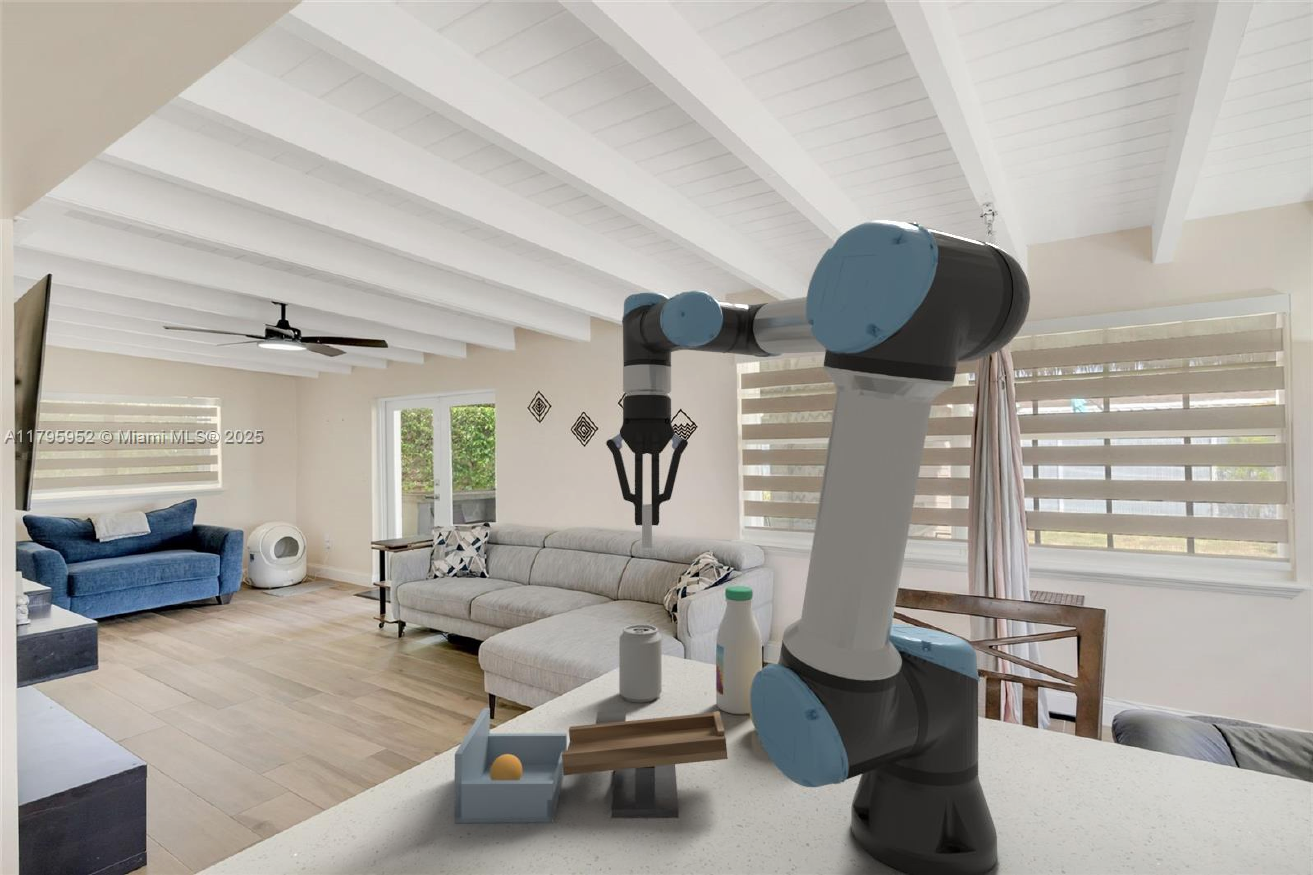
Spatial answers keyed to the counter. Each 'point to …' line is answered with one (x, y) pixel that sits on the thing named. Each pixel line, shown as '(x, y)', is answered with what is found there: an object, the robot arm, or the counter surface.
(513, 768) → the ball
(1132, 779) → the counter surface
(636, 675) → the can
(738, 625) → the milk bottle
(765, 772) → the counter surface
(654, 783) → the pivot stand
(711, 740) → the seesaw chute
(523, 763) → the box
